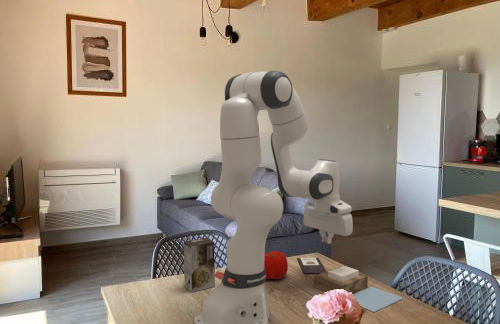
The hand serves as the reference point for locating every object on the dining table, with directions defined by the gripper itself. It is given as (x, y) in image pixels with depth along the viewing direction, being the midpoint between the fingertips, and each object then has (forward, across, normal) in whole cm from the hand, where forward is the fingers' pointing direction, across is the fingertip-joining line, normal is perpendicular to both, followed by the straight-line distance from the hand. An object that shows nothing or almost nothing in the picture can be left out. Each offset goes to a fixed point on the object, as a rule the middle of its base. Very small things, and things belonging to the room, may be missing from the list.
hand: (326, 242), depth 150 cm
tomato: (+14, -15, -13) cm, 24 cm away
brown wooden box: (+14, +7, -1) cm, 16 cm away
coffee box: (+14, -24, -39) cm, 47 cm away
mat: (+14, +20, -1) cm, 24 cm away
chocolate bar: (+15, -14, +7) cm, 22 cm away
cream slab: (+10, +8, -1) cm, 13 cm away
